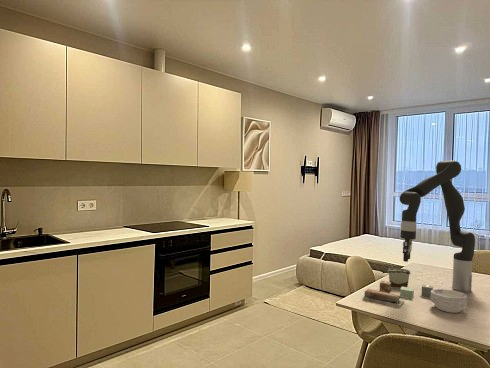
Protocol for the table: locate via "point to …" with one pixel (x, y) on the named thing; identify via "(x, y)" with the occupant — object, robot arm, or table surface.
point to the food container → (398, 277)
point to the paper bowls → (448, 300)
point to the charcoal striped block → (426, 290)
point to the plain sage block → (407, 292)
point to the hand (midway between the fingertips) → (406, 260)
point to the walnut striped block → (385, 286)
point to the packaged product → (383, 298)
